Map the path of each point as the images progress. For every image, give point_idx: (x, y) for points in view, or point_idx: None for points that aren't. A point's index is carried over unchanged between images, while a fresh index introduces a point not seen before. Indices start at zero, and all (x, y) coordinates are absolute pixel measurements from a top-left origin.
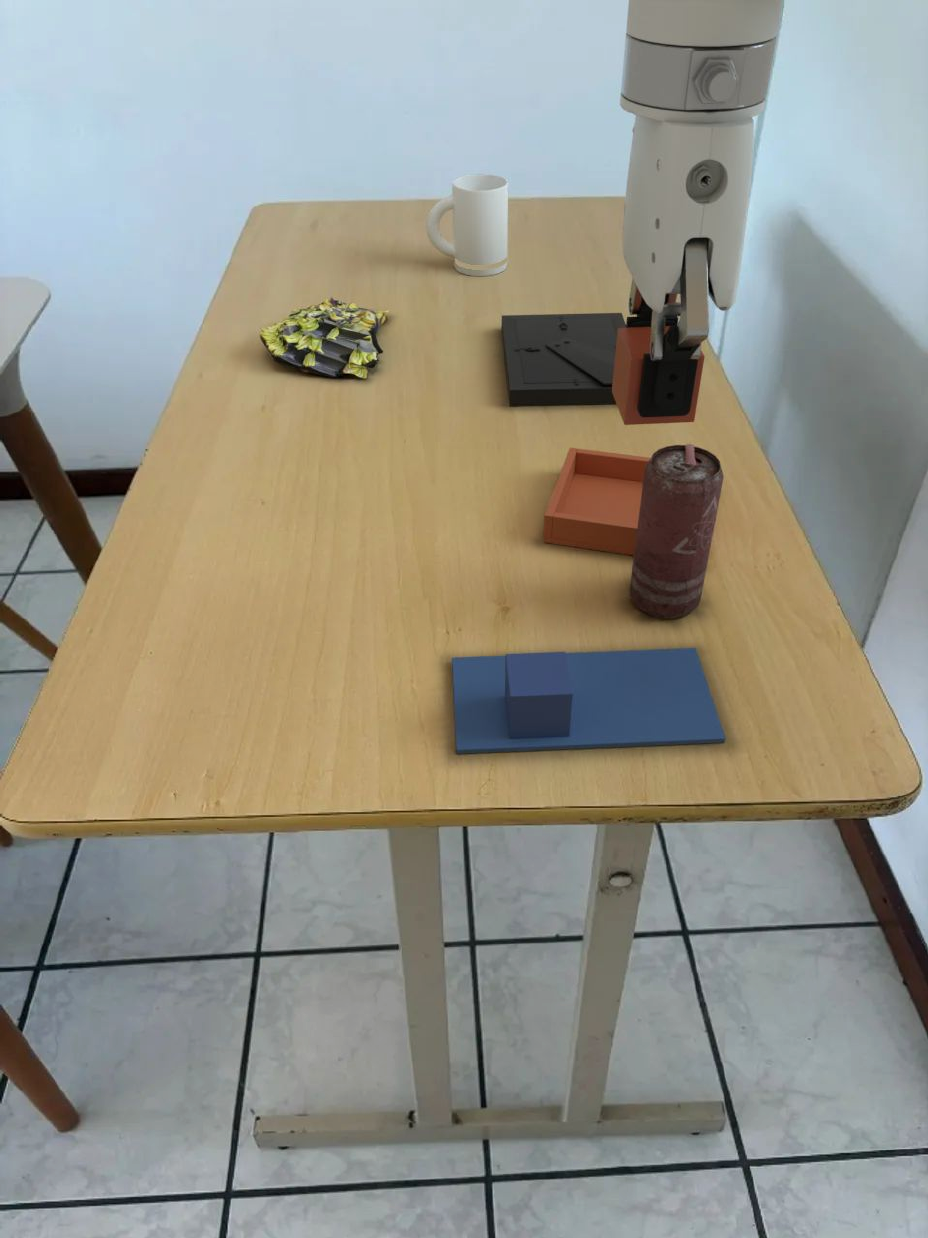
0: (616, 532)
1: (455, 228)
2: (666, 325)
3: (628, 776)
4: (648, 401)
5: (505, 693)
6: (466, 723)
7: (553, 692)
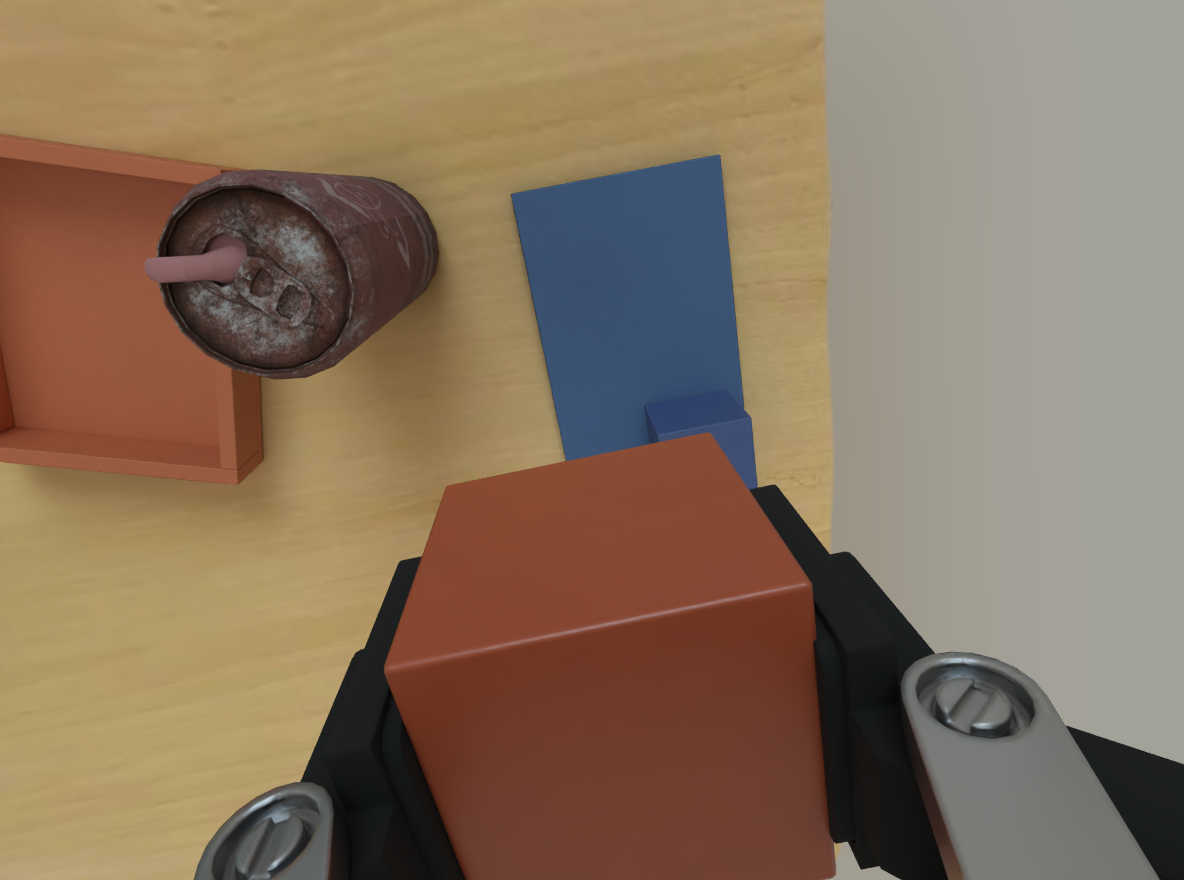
0: None
1: None
2: (421, 768)
3: (785, 304)
4: None
5: None
6: None
7: (749, 444)
